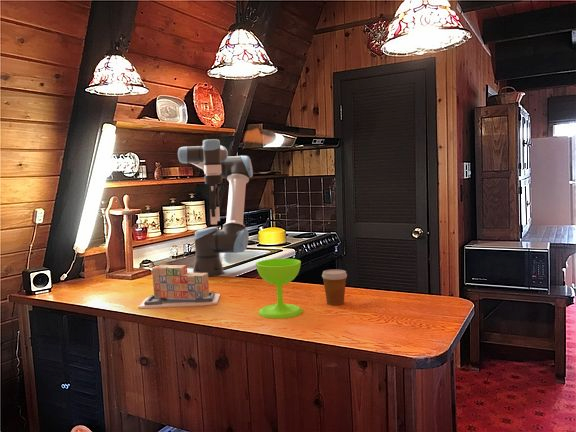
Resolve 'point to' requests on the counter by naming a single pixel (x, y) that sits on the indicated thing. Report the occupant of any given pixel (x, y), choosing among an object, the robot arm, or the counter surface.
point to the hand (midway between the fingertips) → (215, 222)
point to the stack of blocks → (179, 283)
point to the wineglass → (279, 285)
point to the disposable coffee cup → (334, 286)
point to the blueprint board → (178, 301)
